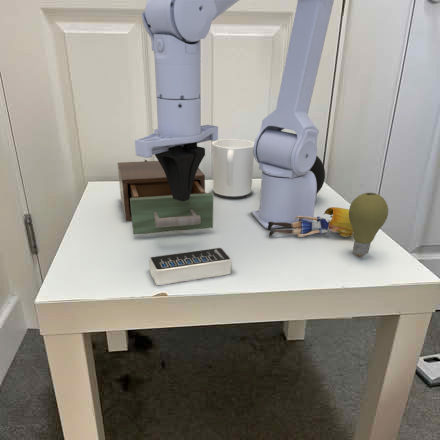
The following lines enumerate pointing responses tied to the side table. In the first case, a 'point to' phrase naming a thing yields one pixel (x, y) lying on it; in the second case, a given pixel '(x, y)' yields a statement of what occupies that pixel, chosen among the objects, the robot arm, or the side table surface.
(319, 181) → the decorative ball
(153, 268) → the multiport hub
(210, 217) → the drawer
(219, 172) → the mug
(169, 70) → the robot arm
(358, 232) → the light bulb
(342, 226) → the figurine
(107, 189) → the side table surface
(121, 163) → the cabinet
